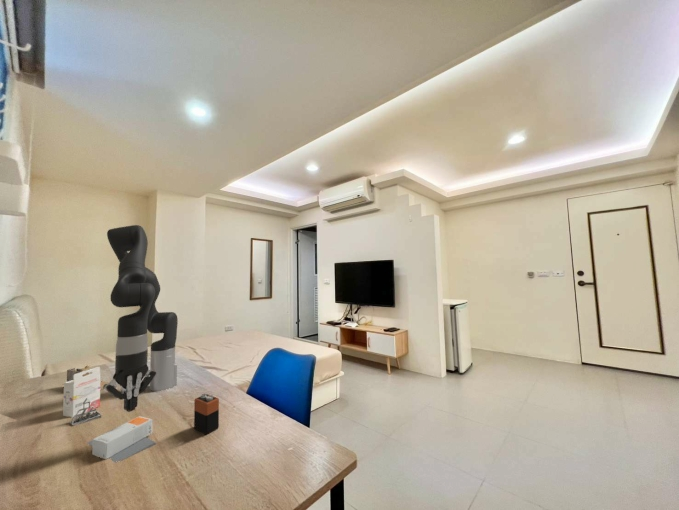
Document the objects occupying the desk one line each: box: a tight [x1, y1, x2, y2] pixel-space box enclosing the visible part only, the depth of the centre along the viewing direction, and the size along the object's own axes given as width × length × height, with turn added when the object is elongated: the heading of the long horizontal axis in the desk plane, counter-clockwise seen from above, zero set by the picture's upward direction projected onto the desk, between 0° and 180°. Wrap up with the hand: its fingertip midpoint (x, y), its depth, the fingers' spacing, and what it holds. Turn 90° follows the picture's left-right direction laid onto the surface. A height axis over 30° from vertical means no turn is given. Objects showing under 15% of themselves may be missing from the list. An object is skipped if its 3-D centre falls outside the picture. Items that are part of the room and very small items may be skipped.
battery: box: [193, 393, 220, 435], centre depth 82 cm, size 4×7×10 cm, turn 58°
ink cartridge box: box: [62, 366, 102, 418], centre depth 94 cm, size 9×5×15 cm, turn 165°
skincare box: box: [91, 415, 153, 460], centre depth 74 cm, size 6×4×12 cm
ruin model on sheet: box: [61, 364, 109, 391], centre depth 116 cm, size 25×16×10 cm, turn 68°
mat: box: [87, 436, 157, 464], centre depth 73 cm, size 13×18×1 cm
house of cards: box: [69, 398, 102, 427], centre depth 90 cm, size 9×9×8 cm
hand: (130, 410), depth 77 cm, fingers closed
